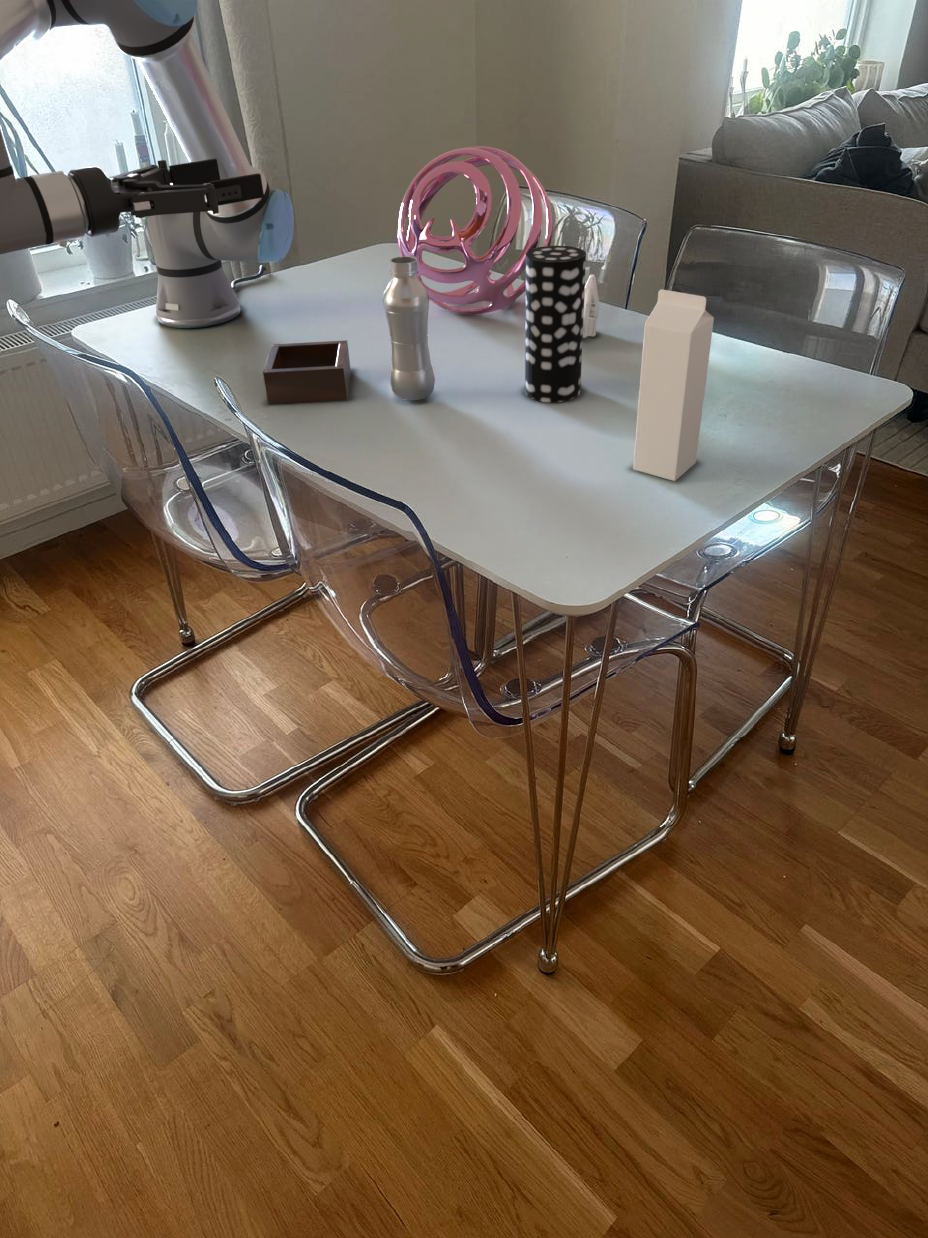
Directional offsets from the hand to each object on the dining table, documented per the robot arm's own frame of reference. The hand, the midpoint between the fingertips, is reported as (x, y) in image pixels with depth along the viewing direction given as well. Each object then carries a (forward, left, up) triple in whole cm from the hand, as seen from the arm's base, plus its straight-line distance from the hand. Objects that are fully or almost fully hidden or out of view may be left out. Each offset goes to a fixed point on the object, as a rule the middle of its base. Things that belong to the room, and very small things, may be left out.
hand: (238, 177), depth 121 cm
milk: (+28, +53, -31) cm, 68 cm away
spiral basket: (-39, +32, -31) cm, 59 cm away
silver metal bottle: (+1, +21, -31) cm, 38 cm away
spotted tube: (+2, +42, -31) cm, 52 cm away
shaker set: (-19, +48, -31) cm, 60 cm away
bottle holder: (-5, +5, -31) cm, 32 cm away
